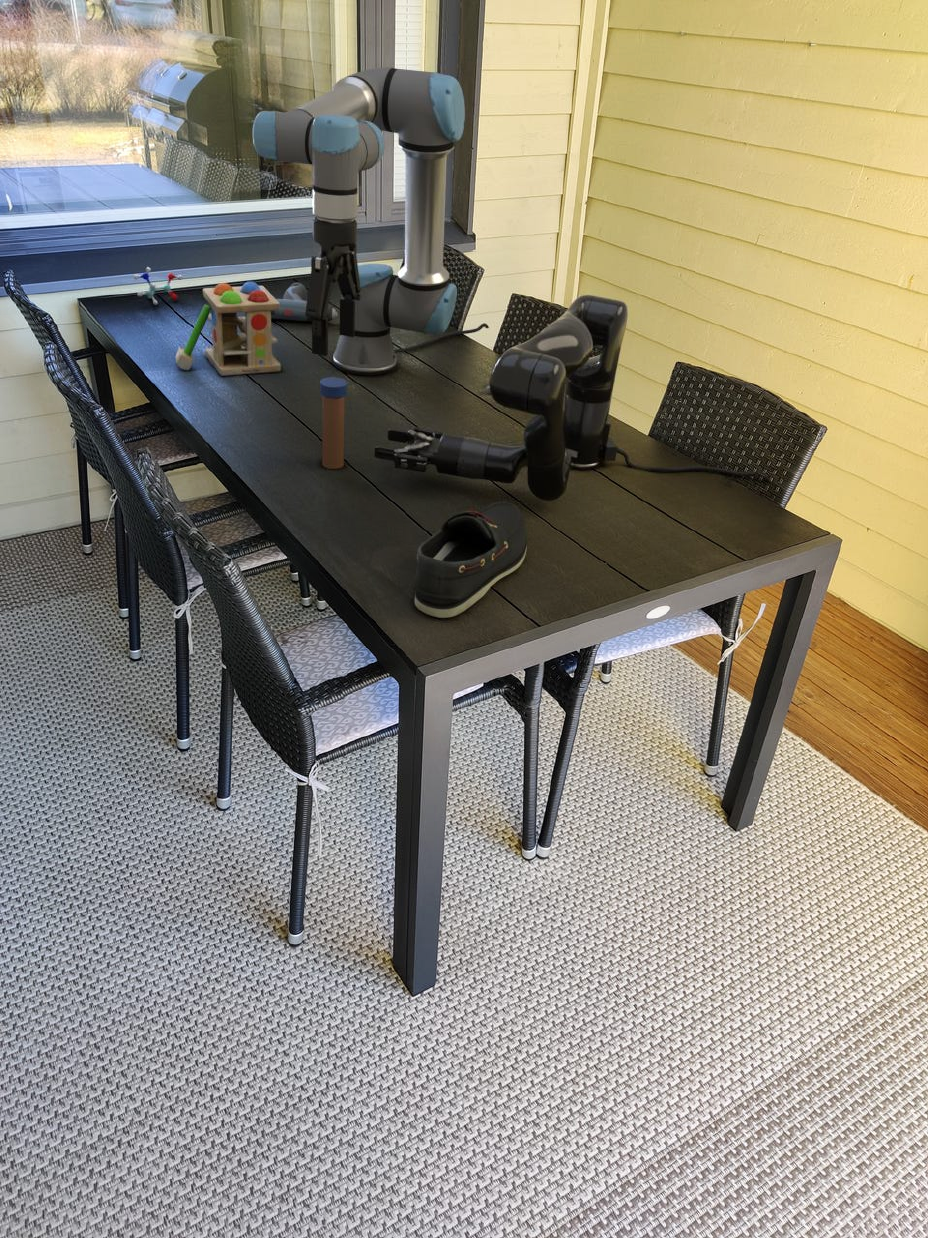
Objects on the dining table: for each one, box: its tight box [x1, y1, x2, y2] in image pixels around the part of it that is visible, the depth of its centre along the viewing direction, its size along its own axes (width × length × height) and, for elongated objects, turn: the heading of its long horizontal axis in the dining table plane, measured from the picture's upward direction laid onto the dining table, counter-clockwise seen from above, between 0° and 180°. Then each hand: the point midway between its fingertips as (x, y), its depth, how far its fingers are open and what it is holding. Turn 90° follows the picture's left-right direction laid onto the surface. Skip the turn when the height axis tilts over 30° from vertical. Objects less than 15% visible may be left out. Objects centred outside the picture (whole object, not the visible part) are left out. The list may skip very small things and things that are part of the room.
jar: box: [321, 395, 346, 470], centre depth 187 cm, size 4×4×16 cm
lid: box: [319, 376, 348, 398], centre depth 183 cm, size 5×5×2 cm
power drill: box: [271, 282, 338, 323], centre depth 265 cm, size 5×19×20 cm
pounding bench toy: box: [174, 281, 282, 377], centre depth 225 cm, size 23×14×18 cm, turn 116°
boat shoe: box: [412, 501, 528, 619], centre depth 161 cm, size 13×33×10 cm, turn 147°
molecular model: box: [133, 266, 183, 306], centre depth 263 cm, size 12×10×10 cm
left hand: (333, 344), depth 178 cm, fingers open, 11 cm apart
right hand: (381, 442), depth 187 cm, fingers open, 8 cm apart
